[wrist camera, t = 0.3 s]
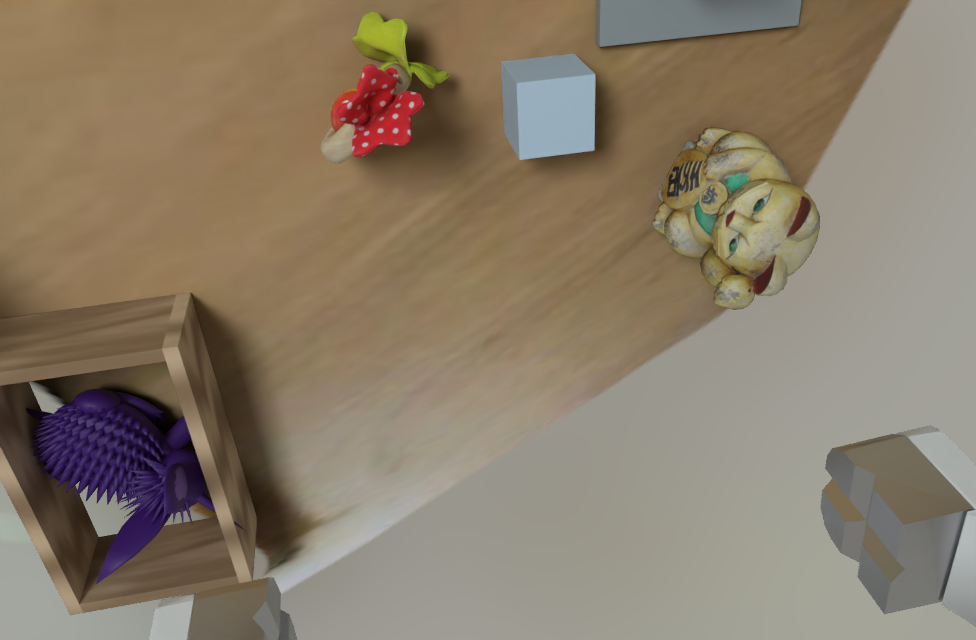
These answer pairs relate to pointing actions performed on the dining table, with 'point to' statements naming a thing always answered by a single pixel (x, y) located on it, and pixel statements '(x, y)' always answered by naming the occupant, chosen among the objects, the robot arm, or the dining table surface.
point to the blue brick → (548, 106)
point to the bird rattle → (378, 94)
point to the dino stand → (62, 517)
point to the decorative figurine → (737, 215)
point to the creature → (122, 463)
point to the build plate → (687, 18)
